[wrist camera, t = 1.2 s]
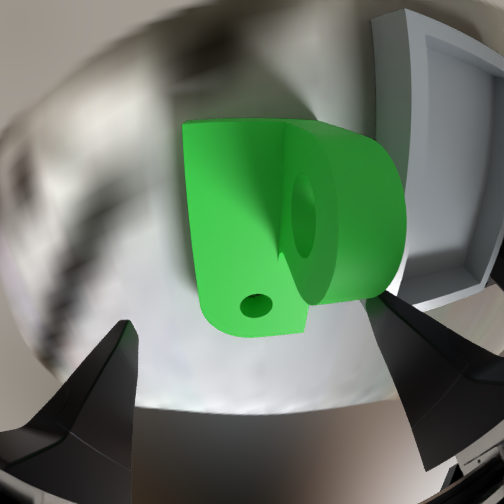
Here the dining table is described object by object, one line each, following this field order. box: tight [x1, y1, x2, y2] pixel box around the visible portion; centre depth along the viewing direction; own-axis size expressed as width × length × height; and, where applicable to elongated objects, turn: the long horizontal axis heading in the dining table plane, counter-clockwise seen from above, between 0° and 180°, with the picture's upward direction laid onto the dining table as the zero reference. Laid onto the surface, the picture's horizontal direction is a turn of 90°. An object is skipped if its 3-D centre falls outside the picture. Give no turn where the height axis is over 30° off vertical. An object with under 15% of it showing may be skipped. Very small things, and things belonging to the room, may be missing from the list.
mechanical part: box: [182, 118, 407, 338], centre depth 11 cm, size 12×6×8 cm, turn 0°
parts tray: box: [360, 8, 504, 312], centre depth 12 cm, size 11×17×3 cm, turn 4°
